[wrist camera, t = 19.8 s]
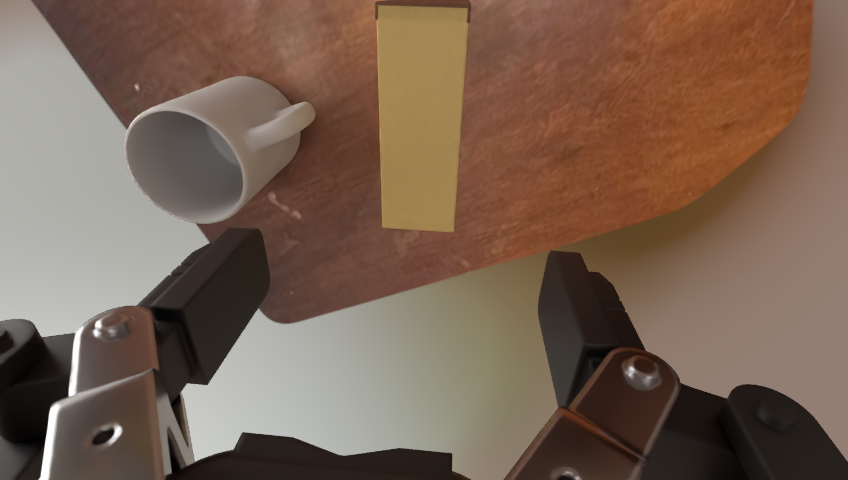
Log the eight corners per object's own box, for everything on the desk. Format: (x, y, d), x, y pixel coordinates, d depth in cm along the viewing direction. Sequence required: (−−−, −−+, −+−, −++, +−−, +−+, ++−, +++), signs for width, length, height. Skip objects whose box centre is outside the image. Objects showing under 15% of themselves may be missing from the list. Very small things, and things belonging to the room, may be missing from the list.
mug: (241, 181, 41) (174, 239, 31) (188, 95, 37) (93, 131, 28) (352, 142, 38) (315, 192, 29) (307, 44, 34) (247, 64, 25)
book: (454, 232, 23) (470, 4, 18) (381, 228, 24) (374, 1, 18) (458, 143, 37) (468, -1, 32) (412, 141, 37) (413, -3, 32)
